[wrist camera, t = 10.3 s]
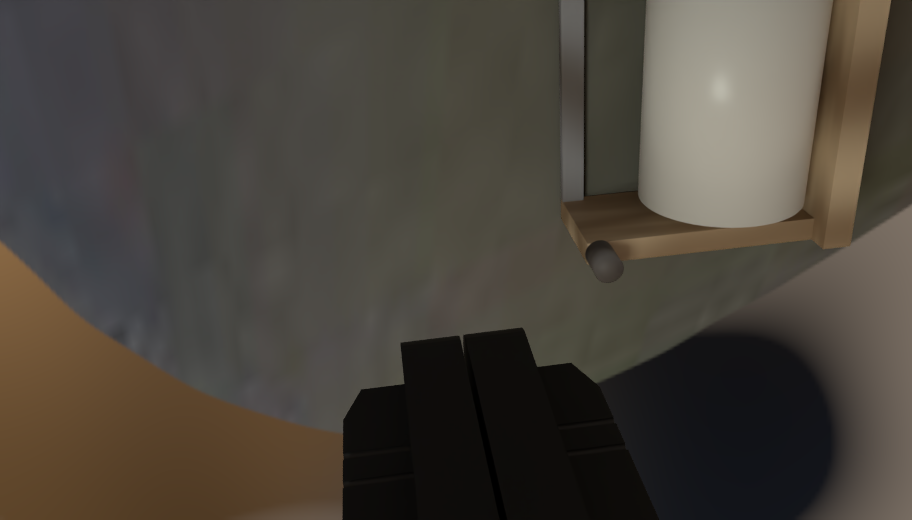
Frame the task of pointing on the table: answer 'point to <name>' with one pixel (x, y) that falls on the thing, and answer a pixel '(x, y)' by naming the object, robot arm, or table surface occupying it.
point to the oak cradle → (652, 235)
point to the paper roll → (730, 108)
